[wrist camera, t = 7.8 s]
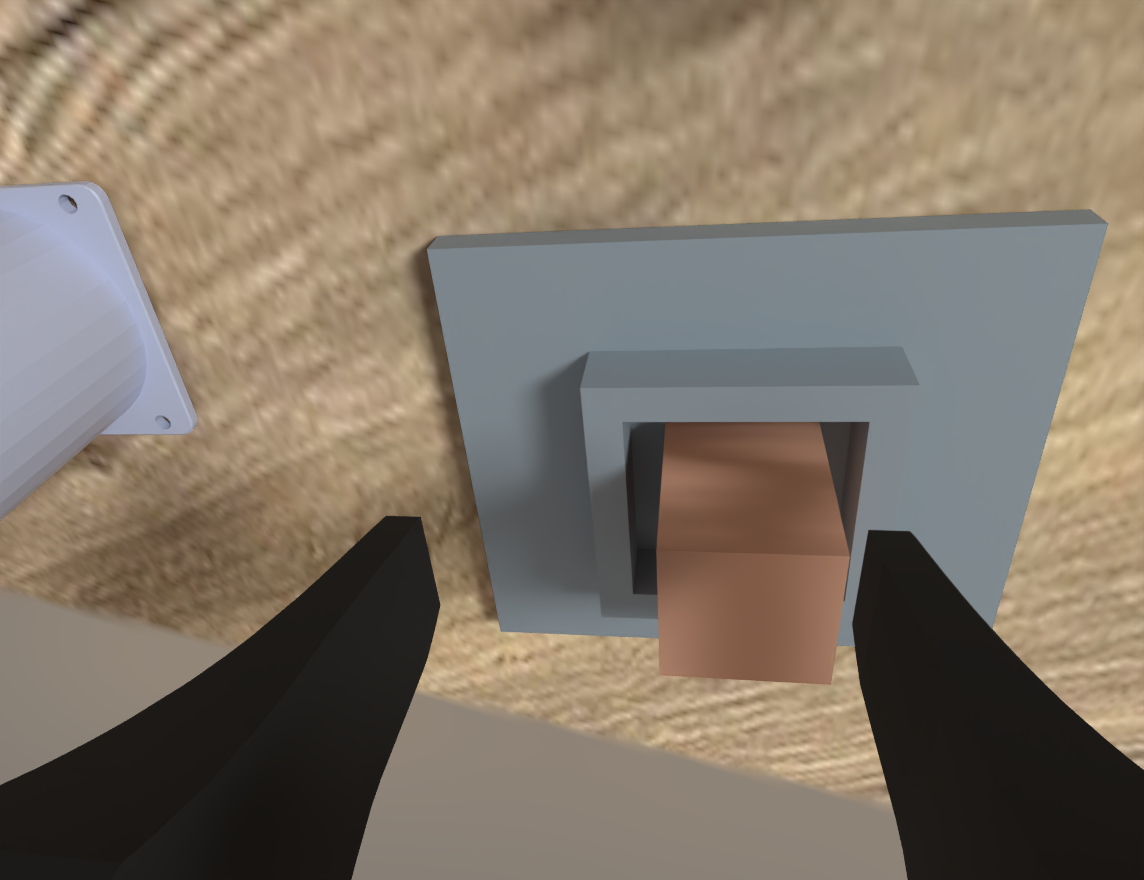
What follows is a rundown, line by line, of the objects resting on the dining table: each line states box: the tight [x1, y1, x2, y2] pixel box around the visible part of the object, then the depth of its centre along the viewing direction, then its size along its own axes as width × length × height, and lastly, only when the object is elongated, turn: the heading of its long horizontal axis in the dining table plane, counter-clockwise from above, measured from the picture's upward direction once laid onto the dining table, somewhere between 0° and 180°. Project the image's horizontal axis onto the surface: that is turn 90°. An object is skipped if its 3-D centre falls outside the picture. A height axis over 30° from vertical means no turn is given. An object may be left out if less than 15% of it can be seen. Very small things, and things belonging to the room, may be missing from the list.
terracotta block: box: [656, 422, 850, 685], centre depth 20 cm, size 4×4×6 cm
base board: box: [427, 210, 1108, 646], centre depth 23 cm, size 16×14×3 cm
